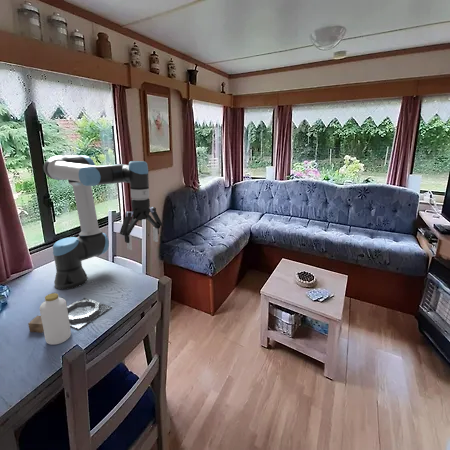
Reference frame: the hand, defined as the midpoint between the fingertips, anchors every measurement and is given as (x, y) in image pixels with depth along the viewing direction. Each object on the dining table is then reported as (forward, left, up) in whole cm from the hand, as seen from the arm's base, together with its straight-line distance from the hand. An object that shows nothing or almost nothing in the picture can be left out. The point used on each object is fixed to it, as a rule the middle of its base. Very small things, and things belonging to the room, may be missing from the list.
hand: (143, 245), depth 123 cm
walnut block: (-24, -35, -28) cm, 50 cm away
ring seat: (-18, -21, -27) cm, 39 cm away
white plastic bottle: (-12, -36, -28) cm, 47 cm away
